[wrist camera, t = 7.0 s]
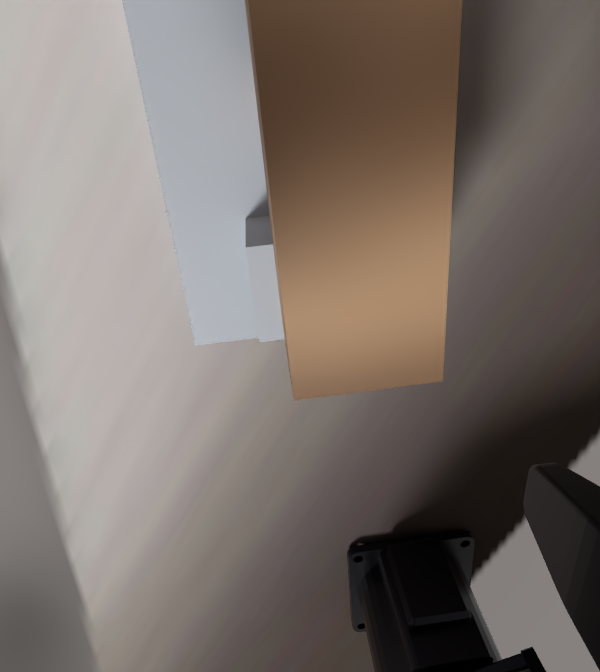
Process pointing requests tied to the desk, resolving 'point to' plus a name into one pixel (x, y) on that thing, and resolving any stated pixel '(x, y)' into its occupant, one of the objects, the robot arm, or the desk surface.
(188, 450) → the desk surface
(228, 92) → the pale grey flat fixture
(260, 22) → the walnut bar
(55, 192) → the desk surface
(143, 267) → the desk surface
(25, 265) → the desk surface
